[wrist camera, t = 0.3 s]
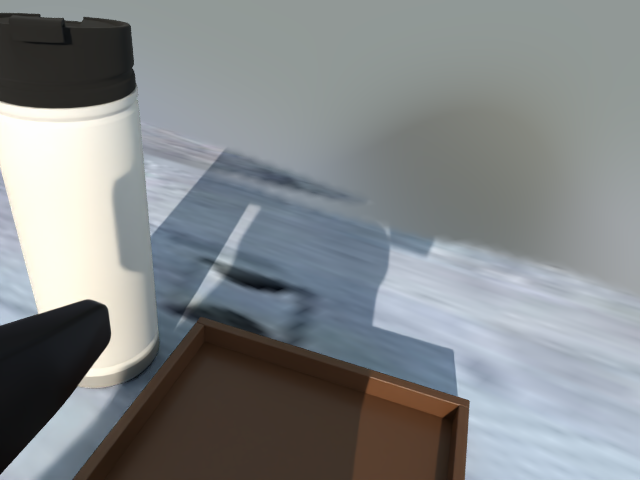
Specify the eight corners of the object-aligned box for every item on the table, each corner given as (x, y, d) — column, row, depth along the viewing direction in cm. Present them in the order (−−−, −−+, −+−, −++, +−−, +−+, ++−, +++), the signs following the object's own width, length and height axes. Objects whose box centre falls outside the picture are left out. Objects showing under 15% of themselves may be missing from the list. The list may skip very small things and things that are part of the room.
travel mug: (42, 403, 28) (-71, 15, 17) (59, 322, 33) (-20, -15, 22) (161, 386, 29) (128, 27, 18) (158, 312, 35) (132, -3, 24)
